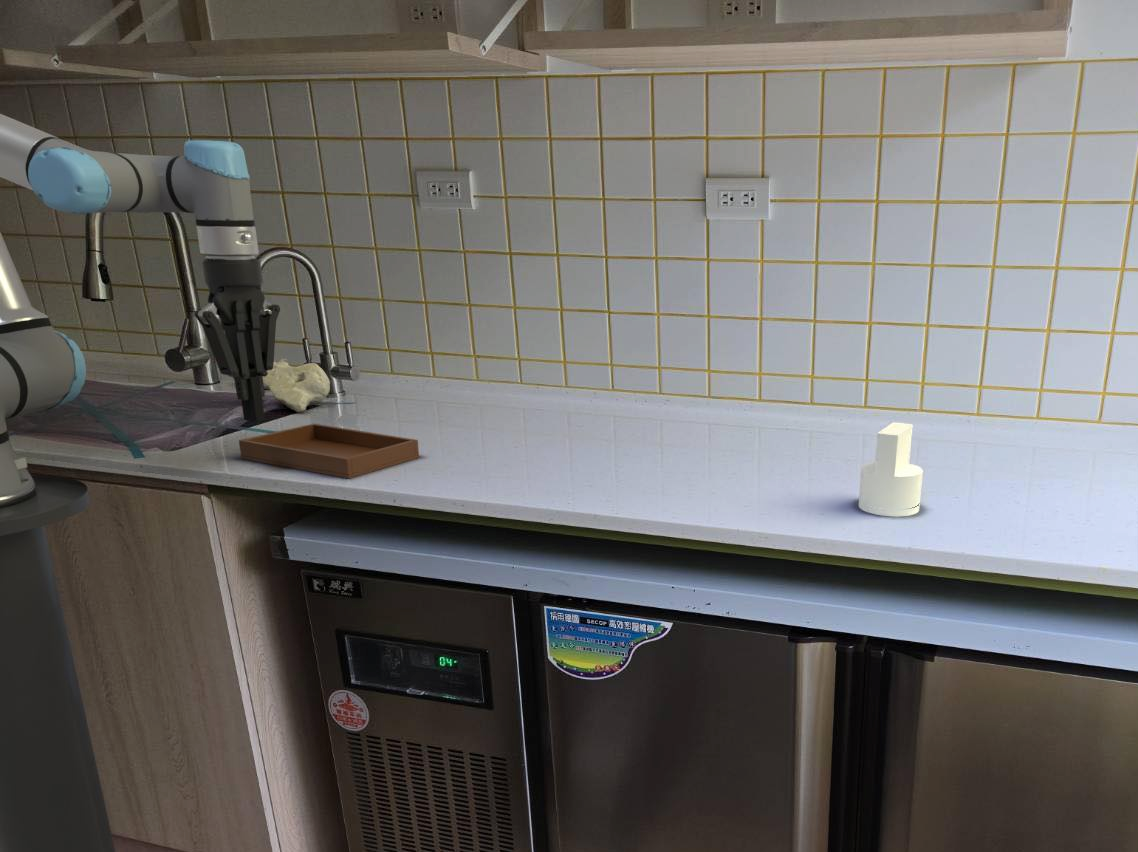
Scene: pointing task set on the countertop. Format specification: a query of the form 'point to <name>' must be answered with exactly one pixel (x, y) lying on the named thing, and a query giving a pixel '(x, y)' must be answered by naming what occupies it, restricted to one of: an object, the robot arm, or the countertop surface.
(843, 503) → the countertop surface
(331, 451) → the tray
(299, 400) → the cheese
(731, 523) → the countertop surface
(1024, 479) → the countertop surface
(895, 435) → the cylinder with rectangular tab
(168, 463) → the countertop surface
